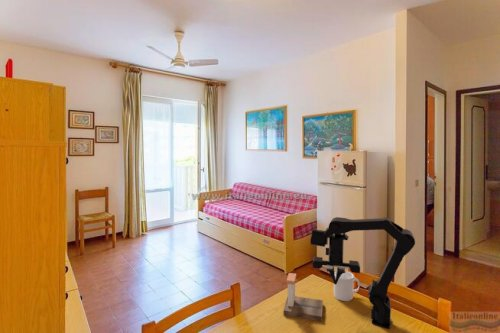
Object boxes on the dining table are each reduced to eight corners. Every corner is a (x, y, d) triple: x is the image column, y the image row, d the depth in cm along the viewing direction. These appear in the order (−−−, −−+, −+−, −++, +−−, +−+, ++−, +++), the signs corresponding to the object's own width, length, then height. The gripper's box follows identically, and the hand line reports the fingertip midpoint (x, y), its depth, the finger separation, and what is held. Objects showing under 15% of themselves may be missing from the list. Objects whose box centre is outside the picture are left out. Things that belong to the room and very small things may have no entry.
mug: (363, 301, 127) (364, 278, 126) (337, 302, 127) (338, 279, 126) (355, 290, 136) (355, 269, 135) (331, 292, 135) (331, 270, 134)
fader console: (322, 304, 125) (322, 300, 125) (321, 321, 113) (321, 316, 113) (287, 299, 129) (287, 295, 129) (283, 315, 118) (283, 310, 117)
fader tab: (295, 298, 125) (296, 273, 124) (294, 307, 119) (294, 281, 118) (288, 297, 126) (288, 272, 125) (286, 306, 120) (286, 280, 119)
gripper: (358, 243, 123) (357, 277, 124) (314, 239, 128) (313, 272, 129) (360, 253, 112) (359, 290, 114) (312, 248, 117) (312, 284, 119)
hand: (335, 283), depth 119 cm, fingers closed
